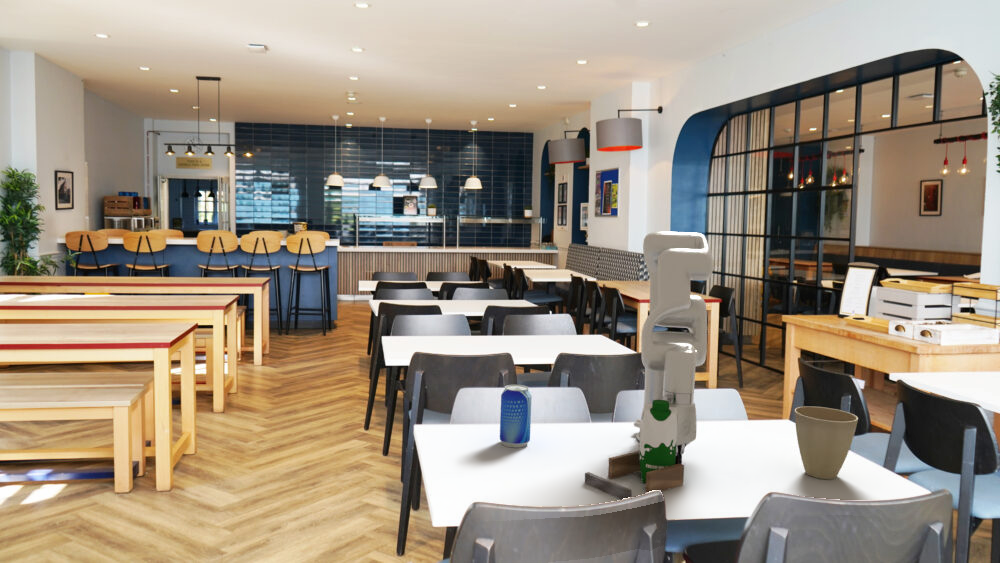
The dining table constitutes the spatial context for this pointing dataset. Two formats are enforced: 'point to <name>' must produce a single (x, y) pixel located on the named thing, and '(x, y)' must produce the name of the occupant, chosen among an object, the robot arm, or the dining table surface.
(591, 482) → the wooden planks
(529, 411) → the beer can
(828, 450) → the plant pot
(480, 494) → the dining table surface
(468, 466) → the dining table surface
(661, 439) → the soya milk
